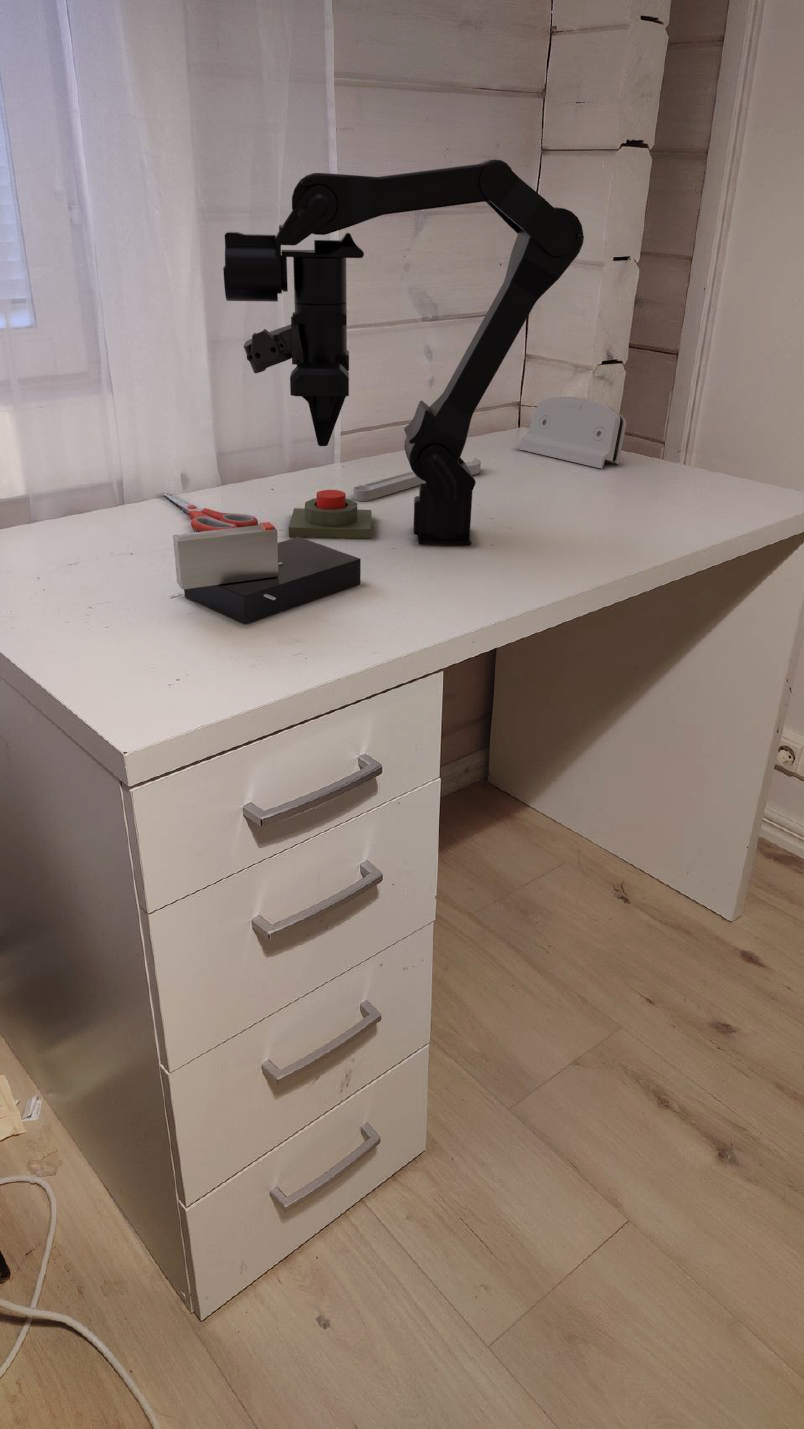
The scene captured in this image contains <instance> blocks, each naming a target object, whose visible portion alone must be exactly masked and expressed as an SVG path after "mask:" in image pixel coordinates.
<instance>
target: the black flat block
mask: <svg viewBox="0 0 804 1429" xmlns="http://www.w3.org/2000/svg"><path fill="white" fill-rule="evenodd" d="M361 563H362V560H361V558H359V557H357V556H354V555H351V554H348V553H345V552H343V551H340V550H337V549H335V548H331V547H328V546H326V545H323V544H321V543H317V542H315V541H312V540H309V539H307V538H305V537H292V538H290V539H285V540H282V541H279V542H278V570H279V576H278V577H272V578H265V579H257V580H250V581H242V582H235V583H228V584H220V585H213V586H205V587H198V588H191V589H183V593H182V592H179V593H175V594H172V595H169V596H168V598H169V599H171V600H172V599H176V598H178V597H181V596H184V598H185V599H188V600H191V601H192V602H195V603H197V604H199V605H201V606H204V607H206V608H208V609H210V610H213V611H215V612H217V613H219V614H221V615H223V616H225V617H228V618H230V619H232V620H235V621H237V622H239V623H241V624H243V625H248V624H251V623H254V622H256V621H260V620H262V619H265V618H268V617H270V616H274V615H277V614H279V613H283V612H285V611H288V610H291V609H294V608H298V607H300V606H303V605H307V604H309V603H313V602H314V601H317V600H320V599H324V598H326V597H329V596H332V595H335V594H338V593H340V592H343V591H346V590H349V589H352V588H355V587H358V586H361V571H362V570H361V568H362V567H361V566H362V565H361Z"/></svg>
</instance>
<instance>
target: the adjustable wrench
mask: <svg viewBox="0 0 804 1429" xmlns="http://www.w3.org/2000/svg"><path fill="white" fill-rule="evenodd" d="M464 462H465V463H466V465H467V467H468V469H469V470H470V472H471V474H472V476H474V475H477V474H479V473H481V464H482V463H481V462H482V461H481V460H480V459H479V458H474V459H473V460H471V461H464ZM420 484H426V482H425V481H424V480H421V479H420V478H419V477H417V476H416V475H415V473H414V472H413V470H411V471H408V472H404V473H400V474H396V475H393V476H389V477H385V478H382V479H378V480H374V481H371V482H367V483H363V484H360V485H359V484H358V485H356V486H353V487H352V499H353V501H358V502H368V501H372V500H375V499H379V498H381V497H384V496H388V495H392V494H396V493H398V492H402V491H405V490H407V489H411V488H414V487H417V486H420Z"/></svg>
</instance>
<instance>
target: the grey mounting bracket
mask: <svg viewBox="0 0 804 1429" xmlns="http://www.w3.org/2000/svg"><path fill="white" fill-rule="evenodd" d="M534 412H535V413H534V414H533V417H532V421H531V422H530V425H529V427H528V428H527V429H528V430H527V432H526V434H525V435H523V436H522V437H521V439H520V442H519V446H518V450H520V451H523V452H527V453H528V452H529V453H532V454H537V455H541V456H546V457H550V458H555V459H559V460H563V461H567V462H572V463H575V464H579V465H584V466H587V467H592V468H597V469H603V468H604V465H605V462H607V463H611V464H617V465H619V464H620V460H621V454H622V450H623V444H624V443H623V442H624V439H625V438H624V437H625V433H626V428H627V421H626V419H625V418H624V416H623V415H622V414H620V413H619V412H618V411H616V410H614V409H613V408H611V407H609V406H607V405H606V404H603V403H602V402H599V401H596V400H594V399H589V398H585V397H577V396H554V397H549V398H545V399H542V400H540V402H539V403H538V404H537V406H536V410H535V411H534Z"/></svg>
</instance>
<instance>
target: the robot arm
mask: <svg viewBox="0 0 804 1429" xmlns="http://www.w3.org/2000/svg"><path fill="white" fill-rule="evenodd" d="M484 202H485V203H486V204H487V205H488V206H489V207H490V208H491V209H492V210H493V211H494V212H495V213H496V215H498V216H499V217H500V218H501V219H502V220H503V221H504V223H505V224H507V225H508V226H509V227H510V229H512V230H513V231H514V232H515V233H516V234H517V235H516V238H515V241H514V244H513V247H512V250H511V252H510V256H509V261H508V265H507V269H506V272H505V276H504V280H503V283H502V285H501V286H500V288H499V290H498V292H497V294H496V295H495V298H494V300H493V301H492V303H491V305H490V306H489V308H488V310H487V312H486V314H485V315H484V317H483V319H482V321H481V323H480V325H479V326H478V328H477V330H476V332H475V334H474V335H473V338H472V339H471V341H470V343H469V344H468V346H467V348H466V350H465V351H464V353H463V355H462V358H461V359H460V361H459V363H458V364H457V367H456V368H455V370H454V372H453V373H452V376H451V378H450V380H449V381H448V383H447V385H446V386H445V388H444V390H443V392H442V393H441V394H440V396H439V397H437V399H435V401H434V402H432V404H431V405H430V406H429V405H428V404H427V403H426V402H424V401H423V400H419V402H418V405H417V407H416V410H415V413H414V414H413V415H414V416H413V417H412V419H411V420H410V422H409V424H407V425H406V426H405V427H403V431H404V435H405V436H406V437H405V439H404V444H403V445H404V452H405V455H406V458H407V462H408V463H409V464H408V465H409V466H410V469H411V471H413V472H414V473H415V475H416V476H417V477H419V478H420V479H421V480H424V481H425V482H426V483H424V484H420V485H419V489H418V490H419V491H418V492H419V493H418V495H415V496H414V498H413V523H412V524H413V525H412V526H413V527H412V529H413V535H415V536H416V538H417V544H420V545H439V546H440V545H441V546H442V545H449V546H471V545H472V536H471V522H472V508H473V507H472V505H473V491H474V488H475V486H476V484H477V483H476V479H475V477H474V475H472V474H471V472H470V470H469V469H468V467H467V465H466V463H465V462H466V461H464V460H463V459H462V454H463V451H464V449H465V446H466V442H467V438H468V434H469V431H470V426H471V421H472V419H473V415H474V413H475V411H476V409H477V408H478V406H479V404H480V402H481V400H482V398H483V397H484V394H485V393H486V392H487V390H488V388H489V386H490V385H491V384H492V381H493V380H494V377H495V376H496V374H497V372H498V370H499V369H500V367H501V365H502V363H503V361H504V360H505V358H506V356H507V354H508V352H510V350H511V347H512V345H513V344H514V342H515V340H516V338H517V337H518V335H519V333H520V331H521V329H522V328H523V326H524V324H525V322H526V321H527V319H528V317H529V316H530V314H531V312H532V310H533V308H534V306H535V305H536V304H537V302H538V301H539V299H540V298H542V296H543V295H544V294H545V293H547V291H548V290H549V289H551V287H553V285H554V284H556V283H557V281H559V279H560V278H561V277H562V276H563V274H564V273H565V272H566V271H567V269H568V268H569V267H570V266H571V264H572V263H573V262H574V260H576V258H577V257H578V255H579V254H580V252H581V250H582V247H583V244H584V240H585V236H584V229H583V225H582V223H581V221H580V219H579V217H578V216H577V215H576V214H575V213H574V212H573V211H571V210H569V209H567V208H565V207H558V206H553V205H552V204H550V202H548V201H547V200H546V199H545V198H544V197H543V196H542V195H541V194H539V193H538V192H537V191H536V190H535V189H534V188H532V187H531V186H530V185H529V184H528V183H526V181H524V180H523V179H521V178H520V176H518V175H517V174H516V173H515V172H514V171H513V169H512V168H511V166H510V165H509V164H508V163H507V162H506V161H504V160H501V159H486V160H483V161H481V162H479V163H474V164H466V165H459V166H458V165H457V166H451V167H444V168H435V169H427V170H420V171H411V172H404V173H396V174H395V173H394V174H390V175H389V174H387V175H381V176H380V175H379V176H371V175H370V176H369V175H357V174H344V173H343V174H342V173H341V174H340V173H328V172H313V173H309V174H307V175H305V176H303V177H302V178H300V179H299V181H298V183H296V185H295V187H294V189H293V192H292V195H291V209H292V210H291V212H290V213H289V215H288V216H287V218H286V219H285V221H284V222H283V224H278V232H277V233H276V234H261V233H259V234H254V233H253V234H252V233H243V232H240V231H227V232H226V233H225V234H224V266H223V268H222V269H223V270H222V271H223V285H224V286H223V287H224V295H225V300H226V302H268V303H269V302H270V303H271V302H272V303H273V302H275V303H276V302H279V295H281V294H282V295H283V293H284V292H285V293H287V292H288V290H289V287H288V286H289V285H288V258H292V264H293V265H292V266H293V301H294V303H293V304H294V312H292V315H291V316H290V324H287V325H285V326H282V327H279V328H276V329H273V330H270V331H268V330H267V329H266V328H264V329H263V330H261V331H259V332H254V333H252V334H251V338H250V339H247V340H246V341H245V342H244V344H243V346H242V347H243V349H244V351H245V353H246V360H247V361H248V362H249V365H250V367H251V369H252V372H253V374H259V373H262V372H265V371H266V370H267V369H268V368H271V367H273V366H275V365H278V364H281V363H285V362H286V361H289V360H291V365H296V366H295V367H294V368H293V370H291V373H290V377H289V390H290V391H289V393H290V396H292V397H301V398H303V400H305V401H306V402H307V404H308V407H309V411H310V417H311V421H312V426H313V429H314V433H315V434H314V435H315V438H316V443H317V445H318V447H327V446H328V445H329V444H330V443H329V442H330V440H331V438H332V435H333V433H334V429H335V427H336V424H337V421H338V418H339V416H340V414H341V411H342V408H343V406H344V402H345V401H346V398H347V397H349V396H350V373H349V372H350V351H349V350H348V336H347V335H348V330H347V329H348V328H347V326H348V325H347V324H348V323H347V322H348V321H347V320H348V319H347V318H348V315H347V314H348V309H347V308H348V307H347V305H348V304H347V259H363V258H364V256H365V252H364V250H363V249H362V248H360V247H359V246H358V245H357V244H356V242H355V240H354V239H353V237H352V235H351V233H350V232H346V233H345V234H344V235H343V237H342V238H341V239H339V240H338V239H314V240H313V244H314V245H313V249H282V246H297V245H299V244H300V243H301V242H303V241H305V239H307V238H308V237H309V236H311V235H316V236H317V235H318V236H326V235H330V234H332V233H336V232H339V231H341V230H344V229H347V228H350V227H353V226H356V225H358V224H361V223H365V222H367V221H370V220H373V219H375V218H378V217H381V216H385V215H391V214H401V213H408V212H414V211H415V212H416V211H424V210H430V209H439V208H447V207H453V206H462V205H469V204H478V203H484Z"/></svg>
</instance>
